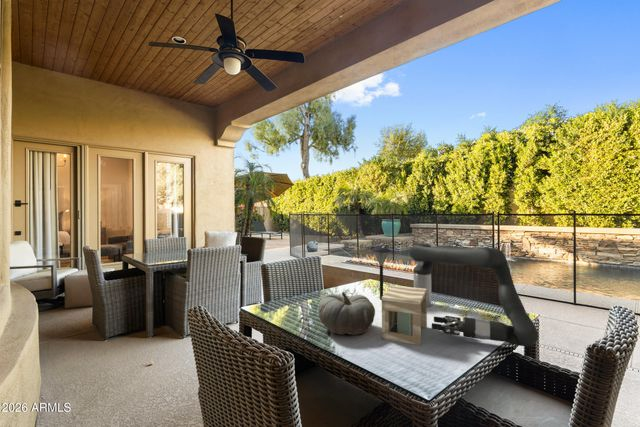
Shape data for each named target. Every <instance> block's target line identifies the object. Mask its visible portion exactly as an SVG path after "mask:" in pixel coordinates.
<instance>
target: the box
mask: <svg viewBox="0 0 640 427" xmlns="http://www.w3.org/2000/svg"><path fill="white" fill-rule="evenodd" d="M427 308H428V307H427V289H423V288H414V286H413V287H410V286H399V285H392V286H391V287H390V288H389V289H388V290H387V291H386V292H385V293H383V296H382V300H381V339H382V340H385V341H386V340H388V341H391V342H392V341H394V342H397V343H398V342H399V343H404V344H405V343H406V344H412V345H417V346H421V345H422V328H426V329H427V328H428V315H427V313H428V310H427ZM397 312H403V313H411V327H412V334H410V335H409V334H402V333H397V331H396V332H394V331H391V330H392V329H393V328H394V326H395V324H396V325H397Z"/></svg>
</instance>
